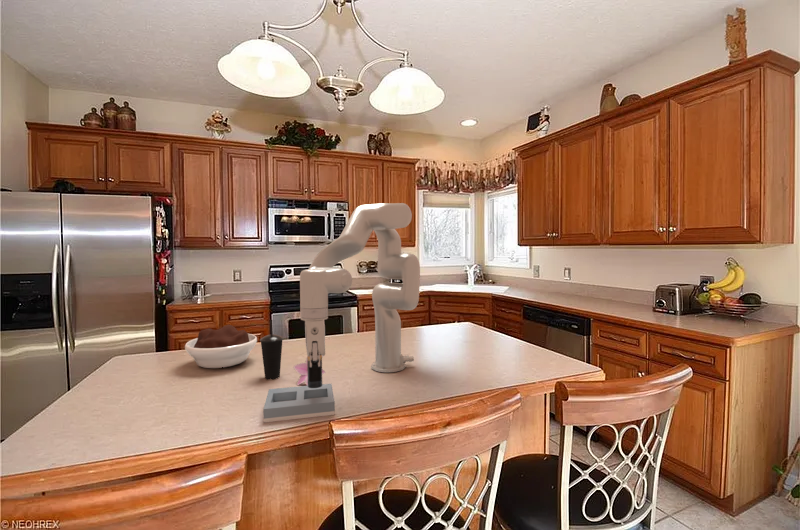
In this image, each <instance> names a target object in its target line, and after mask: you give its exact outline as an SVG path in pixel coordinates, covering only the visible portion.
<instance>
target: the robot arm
mask: <svg viewBox="0 0 800 530" xmlns="http://www.w3.org/2000/svg"><path fill="white" fill-rule="evenodd" d="M412 217H413V215H412V210H411V207H409V205H408V204H407V203H404V202H401V203H400V202H397V203H396V202H395V203H387V202H386V203H384V202H383V203H382V202H381V203H380V202H379V203H371V204H369V203H368V204H361V205H359V206H357V207H356V208H355V209H354V210H353V212H352V214H351V215H350V217H349V219H348V220H347V223H346V224H345V226H344V228H343V230H342V232H341V233H340V235H339V237H337V238H335V240H333V241H331V243H329V244H327V246H325V247H324V248H323V249H321V250H320V251H319V252H318V253H317V254H316V256H315V257H314V259H313V260H312V262H311V264H310V265H309V266H308V267H309V268H308V269H303V270H301V272H300V274H299V294H300V296H299V297H300V298H299V302H300V305H299V308H300V311H299V313H300V321H303V322H304V332H305V333H304V335H305V336H304V337H305V348H306V357H307V356H308V357H309V355H310V367H309V381H310V382H314V381H321V366H320V354H321V355H323V357H324V356H325V355H326V325H325V320H328V319H329V294H343V293H345V292H347V291H348V290H349V289H350V288H351V286H352V284H353V277H352V274H351V272H349V270H347V269H345V268H343V267H335V265H337V264H338V263H340V262H342V261H344V260H346V259H349V258H352V257H353V256H356V255H358V254H360V253H361V252H363V251H364V249H365V247H366V245H367V243H368V240H369V239H370V237H371V234H372V233H373V232H374V234H375V236H376V238H377V243H378V245H377V246H378V247H377V248H378V250H377V274H378V275H379V277H381V278H383V279H386V280H387V279H389V280H402V283H399V282H380V283H377V284H376V285H375V286H373V289H372V292H371V297H372V298H371V299H372V300H371V301H372V304H373V308H374V323H375V324H374V325H375V326H374V328H375V329H374V330H375V331H374V333H375V334H374V337H375V338H374V339H375V340H374V341H375V343H374V344H375V347H374V348H375V361H373V362H372V363H371V370H373V371H376V372H380V373H397V372H400V371H403V370H405V369H406V364H407V362H408V363H411V362H414V361H415V357H414V356H413V355H412V356H409V355H408V354H407V355H403V354H402V321H401V317H400V314H399V313H398V311H397V310H399V311H412V310H414V309H416V308H417V306H418V304H419V299H420V282H421V279H420V277H421V265H420V261H419V259H418V257H417V256H416V255H415V254H414V253H411V252H410V253H408V252H403V253H402V239H401V236H400V234H399V233H398V231H397V229H403V228H406V227H408V226H409V224H410V223H411V222H412ZM317 353H318V354H319V355H317ZM311 354H313V356H311ZM312 358H313V359H312ZM317 358H318V359H317Z"/></svg>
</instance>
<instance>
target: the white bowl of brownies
mask: <svg viewBox="0 0 800 530" xmlns="http://www.w3.org/2000/svg"><path fill="white" fill-rule="evenodd" d="M257 343H258V337H257V336H256V335H254V334H252V333H248V332H247V331H246V329H240V330H238V329H237V328H236V327H235V326H233V325H231V324H226V325H223V326H222V327H220V328H219V329H212V328H206V329H201V330H200V331H199V332H198V335H197V337H196V338H193V339H190V340H188V341H187V342H186V343H185V345H184V349H185V351H186V353H187V354H188V355H189V357H191V358H193V360H194V362H195V363H196V365H197V366H199V367H201V368H205V369H219V368H220V369H222V367H223V368H228V367H233V366H237V365H239V364H241V363H243V362H245V361H246V360H247V359H248V358H249V355H250V353H251V351H253V349H254V348H255V346H256V344H257Z"/></svg>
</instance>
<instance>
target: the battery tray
mask: <svg viewBox="0 0 800 530" xmlns="http://www.w3.org/2000/svg"><path fill="white" fill-rule="evenodd" d="M265 399H266V400H265V402H264V404H263V405H264V406H263V408H262V409H263V412H262V413H263V417H262V418H263V423H271V422H280V421H288V420H289V421H290V420H299V419H307V418H316V417H317V418H318V417H328V416H334V415H335V414H336V413H335V411H336V410H335V405H336V403H335V397H334V391H333V384H332V383H322V386H321V387H319V388H309V387H308V386H307V385H301V386H299V385H297V386H289V387H278V388H269V389H268V392H267V395H266V398H265Z"/></svg>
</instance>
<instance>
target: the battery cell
mask: <svg viewBox="0 0 800 530" xmlns="http://www.w3.org/2000/svg"><path fill="white" fill-rule="evenodd" d="M317 355H319V354H318V353H317ZM311 356H313V354H311ZM306 359H307V369H308V387H309V388H319V387H321V386H322V384H323V374H322V369H323V358H322V355H321V354H320V366H321V381H314V382H310V381H309V367H310V355H309V357H308V356H307V355H306ZM312 359H313V358H312ZM317 359H318V358H317Z"/></svg>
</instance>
